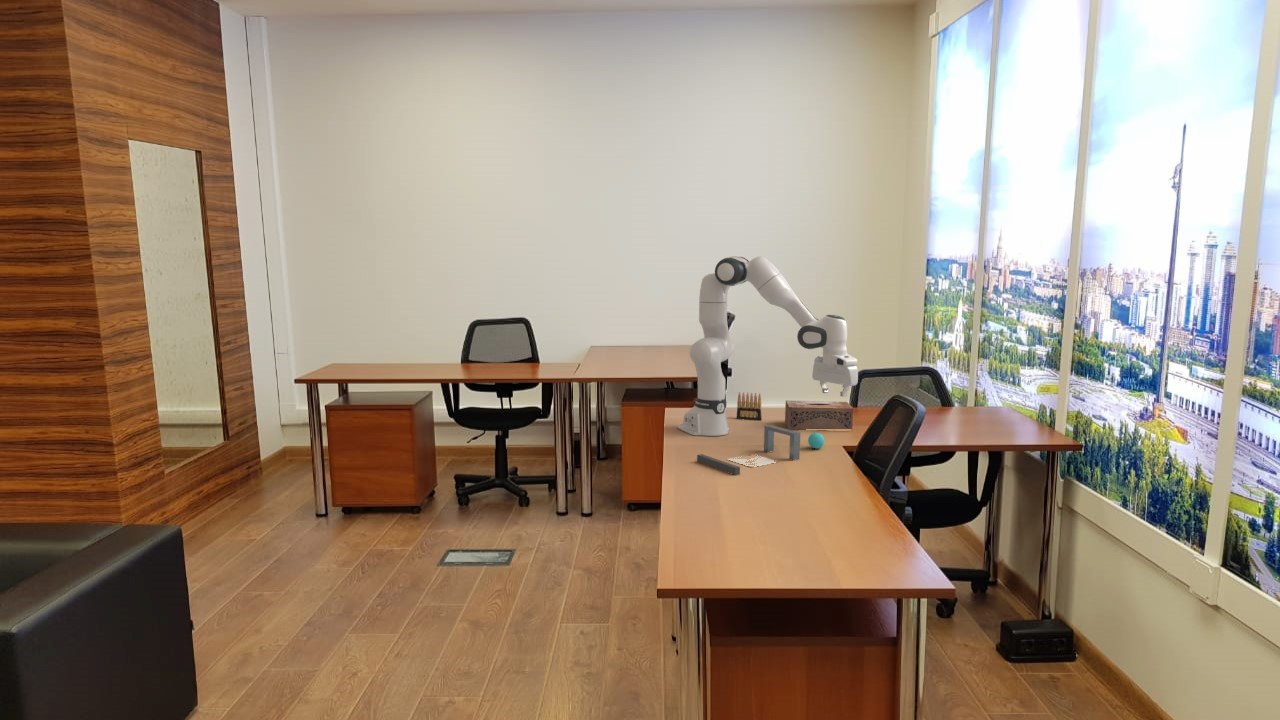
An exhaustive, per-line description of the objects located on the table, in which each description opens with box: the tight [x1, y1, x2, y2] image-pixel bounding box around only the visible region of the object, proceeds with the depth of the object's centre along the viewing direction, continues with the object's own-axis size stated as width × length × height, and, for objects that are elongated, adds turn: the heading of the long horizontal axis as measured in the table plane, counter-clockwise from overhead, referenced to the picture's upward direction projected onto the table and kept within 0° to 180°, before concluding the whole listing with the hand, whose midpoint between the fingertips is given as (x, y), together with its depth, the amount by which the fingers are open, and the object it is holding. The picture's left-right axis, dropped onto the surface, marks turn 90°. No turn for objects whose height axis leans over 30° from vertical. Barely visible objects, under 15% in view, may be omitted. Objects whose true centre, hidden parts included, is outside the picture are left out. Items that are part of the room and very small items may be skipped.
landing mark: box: [726, 454, 777, 468], centre depth 287 cm, size 13×13×1 cm
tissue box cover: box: [784, 400, 854, 431], centre depth 341 cm, size 26×14×10 cm, turn 86°
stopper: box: [696, 453, 741, 476], centre depth 278 cm, size 20×2×2 cm, turn 35°
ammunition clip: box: [735, 391, 762, 422], centre depth 355 cm, size 11×2×12 cm, turn 75°
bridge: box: [763, 424, 801, 461], centre depth 295 cm, size 3×15×10 cm, turn 35°
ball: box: [807, 432, 825, 450], centre depth 305 cm, size 6×6×6 cm
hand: (834, 394), depth 308 cm, fingers open, 8 cm apart
